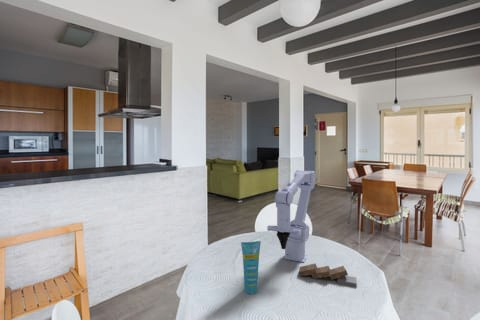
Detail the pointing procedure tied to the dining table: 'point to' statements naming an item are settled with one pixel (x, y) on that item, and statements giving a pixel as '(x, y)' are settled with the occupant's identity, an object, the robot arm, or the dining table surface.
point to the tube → (250, 265)
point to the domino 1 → (308, 270)
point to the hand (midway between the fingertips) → (283, 248)
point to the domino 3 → (338, 272)
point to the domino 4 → (348, 281)
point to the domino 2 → (322, 272)
